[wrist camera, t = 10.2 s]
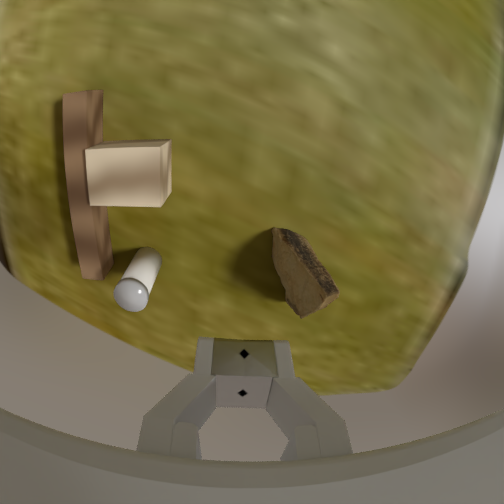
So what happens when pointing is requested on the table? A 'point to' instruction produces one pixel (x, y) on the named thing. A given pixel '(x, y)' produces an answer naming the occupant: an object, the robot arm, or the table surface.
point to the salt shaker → (138, 280)
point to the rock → (301, 273)
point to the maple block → (129, 173)
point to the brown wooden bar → (85, 182)
